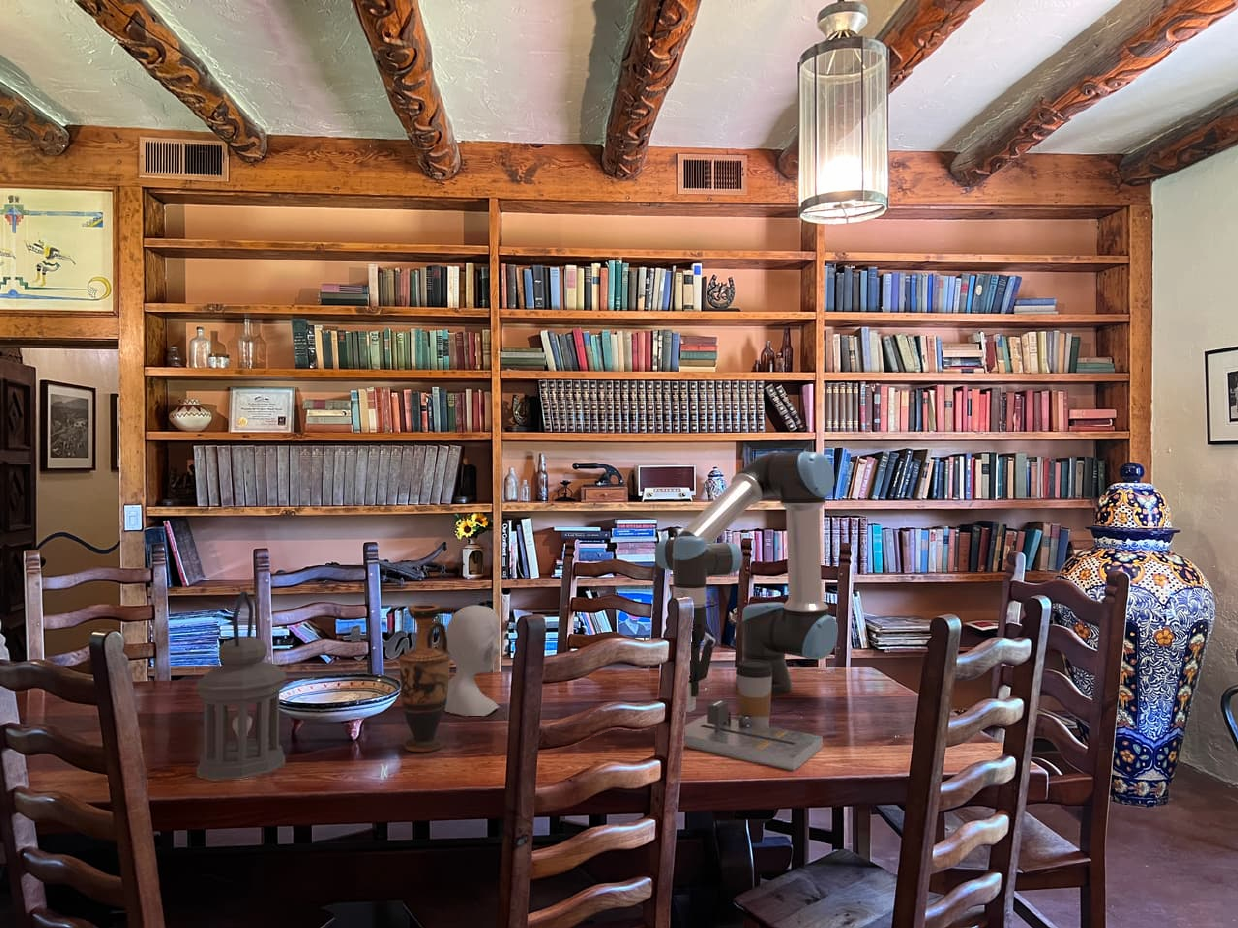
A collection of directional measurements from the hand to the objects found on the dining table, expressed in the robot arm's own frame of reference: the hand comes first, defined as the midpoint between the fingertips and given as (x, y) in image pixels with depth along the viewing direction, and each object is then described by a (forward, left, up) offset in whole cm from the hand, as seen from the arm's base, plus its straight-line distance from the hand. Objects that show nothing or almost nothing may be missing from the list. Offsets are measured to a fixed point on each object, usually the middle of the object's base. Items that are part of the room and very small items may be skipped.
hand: (689, 709), depth 181 cm
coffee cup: (-12, +10, -6) cm, 17 cm away
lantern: (+68, -64, -6) cm, 94 cm away
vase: (+39, -43, -6) cm, 59 cm away
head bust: (+10, -58, -6) cm, 59 cm away
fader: (0, +7, -6) cm, 9 cm away
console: (0, +14, -6) cm, 15 cm away
